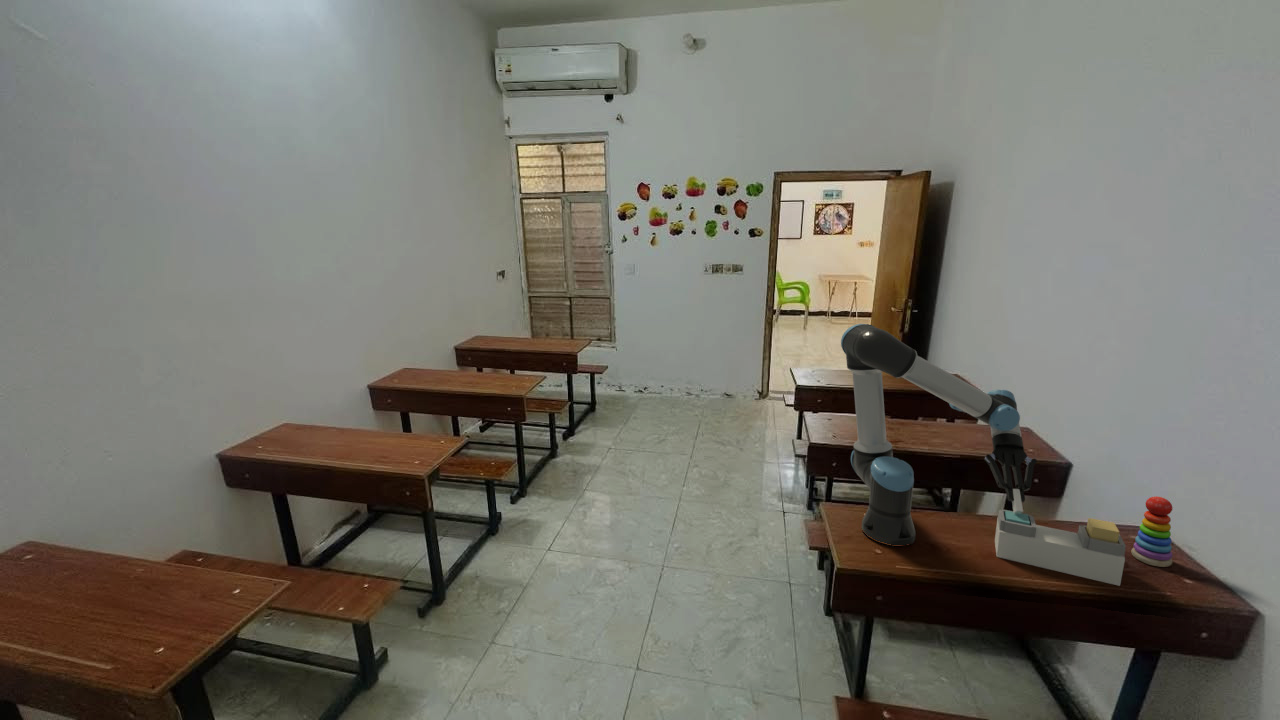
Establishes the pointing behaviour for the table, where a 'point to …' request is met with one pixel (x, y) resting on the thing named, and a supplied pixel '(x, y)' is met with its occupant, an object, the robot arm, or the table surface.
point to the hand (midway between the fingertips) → (1018, 512)
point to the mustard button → (1102, 530)
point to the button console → (1060, 550)
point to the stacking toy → (1155, 534)
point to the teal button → (1017, 518)
